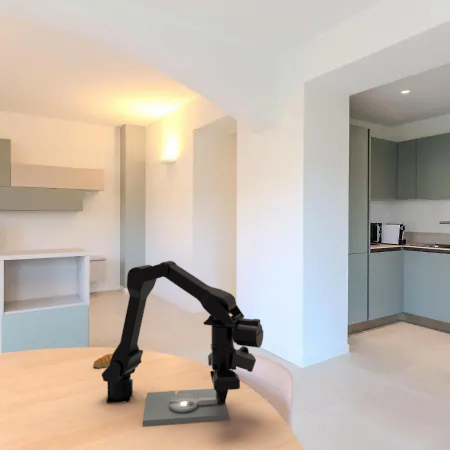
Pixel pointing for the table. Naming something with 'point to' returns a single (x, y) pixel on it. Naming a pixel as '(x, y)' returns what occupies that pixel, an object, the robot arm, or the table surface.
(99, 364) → the pastry
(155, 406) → the base plate
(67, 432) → the table surface
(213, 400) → the silver handled piece
